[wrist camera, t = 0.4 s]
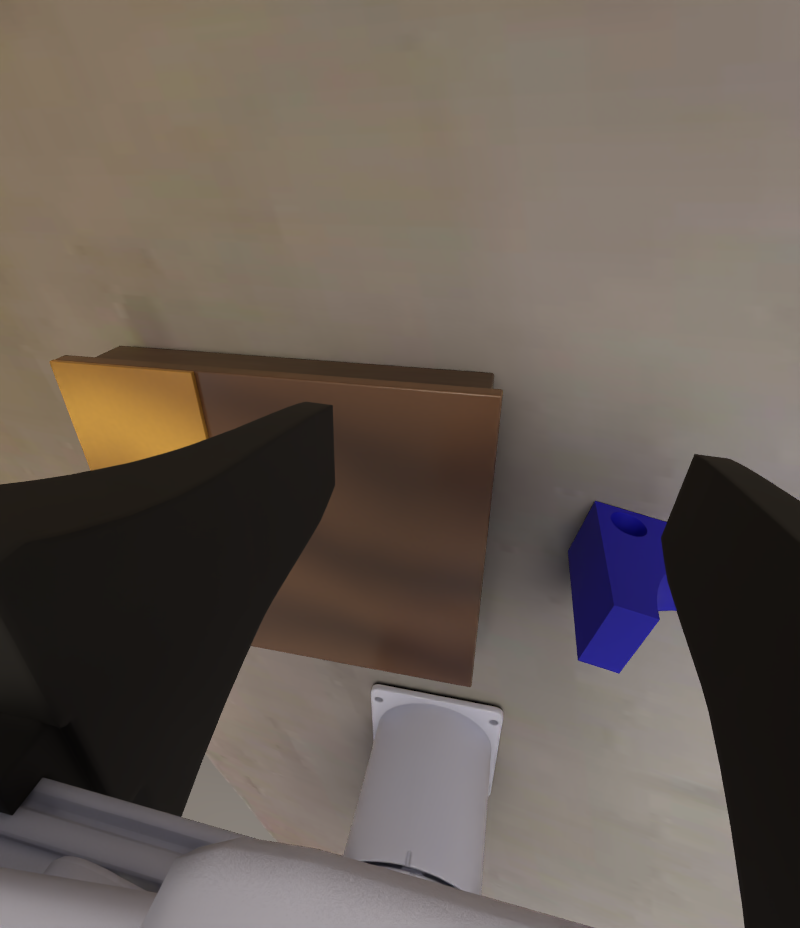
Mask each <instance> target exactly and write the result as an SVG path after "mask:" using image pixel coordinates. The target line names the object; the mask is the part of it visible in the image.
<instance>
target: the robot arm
mask: <svg viewBox="0 0 800 928" xmlns="http://www.w3.org/2000/svg"><path fill="white" fill-rule="evenodd" d="M334 487H335V461H334V428H333V405H328V404H321V403H313V402H302V403H298V404H295V405H292V406H289V407H286V408H284V409H281V410H279V411H276V412H274V413H271V414H269V415H266V416H264V417H262V418H259V419H257V420H254V421H252V422H249V423H247V424H245V425H242V426H240V427H237V428H235V429H232V430H230V431H227V432H224V433H222V434H219V435H216V436H213V437H211V438H208V439H205V440H203V441H200V442H197V443H194V444H192V445H189V446H186V447H183V448H180V449H177V450H173V451H170V452H167V453H163V454H160V455H156V456H152V457H149V458H145V459H141V460H138V461H134V462H130V463H126V464H121V465H116V466H111V467H106V468H101V469H96V470H91V471H87V472H82V473H77V474H72V475H66V476H60V477H53V478H47V479H40V480H33V481H25V482H17V483H9V484H1V485H0V928H593V927H590V926H586V925H583V924H579V923H576V922H572V921H569V920H565V919H562V918H558V917H555V916H551V915H548V914H544V913H541V912H537V911H534V910H530V909H527V908H523V907H520V906H516V905H513V904H509V903H506V902H502V901H499V900H495V899H492V898H488V897H485V896H481V892H482V877H483V862H484V848H485V833H486V818H487V803H488V796H489V795H490V794H491V788H492V782H493V776H494V770H495V764H496V758H497V752H498V746H499V740H500V734H501V728H502V723H503V711H502V710H501V709H500V708H498V707H494V706H489V705H484V704H479V703H474V702H469V701H463V700H458V699H453V698H448V697H443V696H438V695H432V694H427V693H422V692H417V691H412V690H407V689H402V688H396V687H391V686H386V685H381V684H376V685H373V686H372V690H371V705H372V723H373V741H374V743H373V747H372V750H371V754H370V758H369V762H368V765H367V769H366V773H365V777H364V780H363V784H362V788H361V791H360V795H359V799H358V803H357V806H356V810H355V814H354V818H353V821H352V825H351V829H350V832H349V836H348V840H347V844H346V847H345V851H344V855H343V856H341V855H337V854H334V853H330V852H327V851H323V850H320V849H315V848H309V847H303V846H297V845H290V844H284V843H278V842H272V841H265V840H259V839H256V838H252V837H249V836H245V835H242V834H238V833H235V832H231V831H228V830H224V829H221V828H217V827H214V826H210V825H207V824H203V823H200V822H196V821H193V820H189V819H186V818H182V817H181V816H182V813H183V811H184V808H185V805H186V803H187V800H188V797H189V795H190V792H191V789H192V787H193V784H194V781H195V779H196V776H197V773H198V771H199V768H200V765H201V763H202V760H203V757H204V755H205V752H206V750H207V747H208V745H209V743H210V740H211V738H212V735H213V733H214V730H215V728H216V725H217V723H218V720H219V718H220V715H221V713H222V710H223V708H224V705H225V703H226V701H227V698H228V696H229V694H230V691H231V689H232V687H233V684H234V682H235V680H236V677H237V675H238V673H239V671H240V668H241V666H242V664H243V661H244V659H245V657H246V655H247V652H248V650H249V648H250V646H251V644H252V642H253V639H254V637H255V635H256V633H257V631H258V629H259V626H260V624H261V622H262V620H263V618H264V616H265V614H266V612H267V610H268V609H269V607H270V605H271V603H272V601H273V599H274V598H275V596H276V594H277V593H278V591H279V589H280V588H281V586H282V584H283V583H284V581H285V580H286V578H287V576H288V575H289V573H290V571H291V570H292V568H293V566H294V565H295V563H296V561H297V560H298V558H299V556H300V555H301V553H302V552H303V550H304V548H305V547H306V545H307V543H308V542H309V540H310V538H311V536H312V535H313V533H314V531H315V530H316V528H317V526H318V525H319V523H320V521H321V519H322V516H323V514H324V512H325V509H326V507H327V505H328V502H329V500H330V497H331V495H332V492H333V490H334ZM661 543H662V550H663V557H664V564H665V570H666V576H667V581H668V585H669V588H670V591H671V595H672V598H673V601H674V604H675V607H676V610H677V613H678V617H679V620H680V623H681V626H682V629H683V632H684V635H685V638H686V641H687V644H688V647H689V650H690V653H691V656H692V659H693V662H694V665H695V668H696V671H697V674H698V677H699V680H700V683H701V686H702V689H703V693H704V697H705V700H706V704H707V707H708V711H709V716H710V720H711V725H712V730H713V735H714V740H715V745H716V749H717V754H718V759H719V764H720V769H721V775H722V780H723V786H724V792H725V797H726V803H727V809H728V814H729V820H730V826H731V832H732V839H733V846H734V852H735V859H736V866H737V873H738V880H739V887H740V893H741V900H742V908H743V917H744V925H745V928H800V501H799V500H797V499H796V498H794V497H793V496H791V495H790V494H788V493H786V492H785V491H783V490H782V489H780V488H779V487H777V486H776V485H774V484H773V483H771V482H770V481H768V480H766V479H765V478H763V477H762V476H760V475H758V474H757V473H755V472H753V471H752V470H750V469H748V468H747V467H745V466H743V465H741V464H739V463H737V462H735V461H733V460H731V459H727V458H719V457H712V456H704V455H697V454H694V457H693V459H692V462H691V464H690V467H689V469H688V472H687V474H686V477H685V479H684V482H683V484H682V487H681V489H680V492H679V494H678V497H677V499H676V502H675V504H674V506H673V509H672V511H671V514H670V516H669V519H668V521H667V524H666V526H665V529H664V531H663V534H662V536H661Z"/></svg>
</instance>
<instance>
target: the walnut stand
mask: <svg viewBox="0 0 800 928" xmlns="http://www.w3.org/2000/svg"><path fill="white" fill-rule="evenodd" d="M50 364H51V367H52V370H53V372H54V375H55V378H56V380H57V383H58V386H59V388H60V391H61V393H62V396H63V399H64V401H65V404H66V407H67V409H68V412H69V415H70V417H71V420H72V423H73V425H74V428H75V430H76V433H77V436H78V438H79V441H80V444H81V446H82V449H83V452H84V454H85V457H86V459H87V462H88V465H89V467H90V470H96V469H101V468H106V467H111V466H116V465H121V464H126V463H130V462H134V461H138V460H141V459H145V458H149V457H152V456H156V455H160V454H163V453H167V452H170V451H173V450H177V449H180V448H183V447H186V446H189V445H192V444H194V443H197V442H200V441H203V440H205V439H208V438H211V437H213V436H216V435H219V434H222V433H224V432H227V431H230V430H232V429H235V428H237V427H240V426H242V425H245V424H247V423H249V422H252V421H254V420H257V419H259V418H262V417H264V416H266V415H269V414H271V413H274V412H276V411H279V410H281V409H284V408H286V407H289V406H292V405H295V404H298V403H302V402H313V403H321V404H328V405H333V428H334V461H335V487H334V490H333V492H332V495H331V497H330V500H329V502H328V505H327V507H326V509H325V512H324V514H323V516H322V519H321V521H320V523H319V525H318V526H317V528H316V530H315V531H314V533H313V535H312V536H311V538H310V540H309V542H308V543H307V545H306V547H305V548H304V550H303V552H302V553H301V555H300V556H299V558H298V560H297V561H296V563H295V565H294V566H293V568H292V570H291V571H290V573H289V575H288V576H287V578H286V580H285V581H284V583H283V584H282V586H281V588H280V589H279V591H278V593H277V594H276V596H275V598H274V599H273V601H272V603H271V605H270V607H269V609H268V610H267V612H266V614H265V616H264V618H263V620H262V622H261V624H260V626H259V629H258V631H257V633H256V635H255V637H254V639H253V642H252V644H251V646H254V647H260V648H265V649H270V650H276V651H281V652H286V653H291V654H297V655H302V656H307V657H313V658H318V659H323V660H329V661H334V662H339V663H344V664H350V665H355V666H360V667H366V668H371V669H376V670H381V671H387V672H392V673H397V674H403V675H408V676H413V677H418V678H424V679H429V680H434V681H440V682H445V683H450V684H456V685H461V686H466V687H471V685H472V676H473V666H474V657H475V648H476V638H477V629H478V620H479V610H480V601H481V592H482V583H483V573H484V564H485V555H486V545H487V536H488V527H489V517H490V508H491V499H492V489H493V480H494V471H495V461H496V452H497V443H498V434H499V424H500V415H501V406H502V396H503V390H501V389H493V383H494V374H493V373H484V372H470V371H457V370H443V369H429V368H416V367H402V366H388V365H375V364H361V363H347V362H334V361H320V360H306V359H293V358H279V357H265V356H251V355H238V354H224V353H210V352H197V351H183V350H169V349H156V348H142V347H128V346H119V347H117V348H115V349H112V350H110V351H108V352H106V353H104V354H102V355H100V356H97V357H82V356H69V355H64V356H62V357H60V358H58V359H55V360H52V361H50Z"/></svg>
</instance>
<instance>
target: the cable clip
mask: <svg viewBox="0 0 800 928" xmlns="http://www.w3.org/2000/svg"><path fill="white" fill-rule="evenodd" d="M666 524H667V522H664V521H661V520H658V519H654V518H651V517H648V516H644V515H641V514H638V513H634V512H631V511H628V510H624V509H621V508H618V507H614V506H611V505H608V504H604V503H601V502H597V501H595V502H594V504H593V506H592V507H591V509H590V511H589V513H588V515H587V517H586V519H585V520H584V522H583V524H582V526H581V528H580V530H579V532H578V534H577V535H576V537H575V539H574V541H573V543H572V545H571V547H570V548H569V550H568V558H569V569H570V579H571V590H572V601H573V612H574V623H575V634H576V645H577V656H578V660H579V661H582V662H585V663H588V664H591V665H594V666H597V667H600V668H603V669H607V670H610V671H613V672H616V673H620V672H621V670H622V669H623V668H624V666H625V665H626V664H627V662H628V661H629V660H630V658H631V657H632V656H633V654H634V653H635V652H636V650H637V649H638V648H639V646H640V645H641V644H642V642H643V641H644V640H645V638H646V637H647V636H648V634H649V633H650V632H651V630H652V629H653V628H654V626H655V625H656V624H657V622H658V621H659V620H660V618H659V614H658V611H668V610H673V611H677V610H676V607H675V604H674V601H673V598H672V595H671V591H670V588H669V585H668V581H667V576H666V570H665V564H664V557H663V550H662V543H661V536H662V534H663V531H664V529H665V526H666Z"/></svg>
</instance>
